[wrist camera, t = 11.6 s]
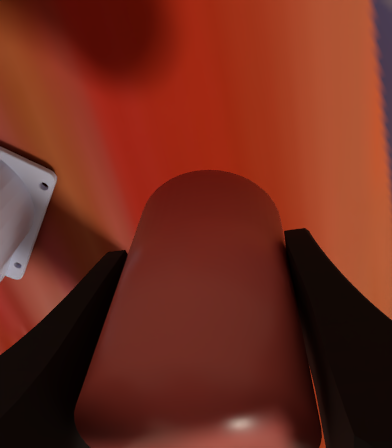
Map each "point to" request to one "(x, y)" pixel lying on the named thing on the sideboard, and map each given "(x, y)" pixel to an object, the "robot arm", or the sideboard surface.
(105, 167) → the sideboard surface
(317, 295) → the robot arm
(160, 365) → the capsule
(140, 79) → the sideboard surface
